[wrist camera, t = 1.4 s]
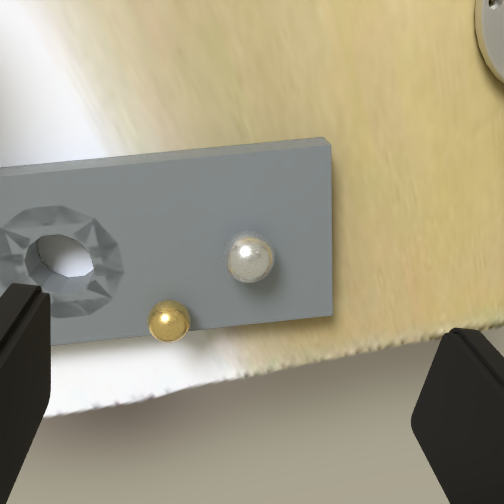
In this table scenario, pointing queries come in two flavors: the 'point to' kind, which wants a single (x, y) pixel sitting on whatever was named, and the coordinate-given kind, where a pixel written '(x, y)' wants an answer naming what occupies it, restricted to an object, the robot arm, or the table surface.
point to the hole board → (173, 235)
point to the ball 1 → (168, 321)
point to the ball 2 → (248, 256)
